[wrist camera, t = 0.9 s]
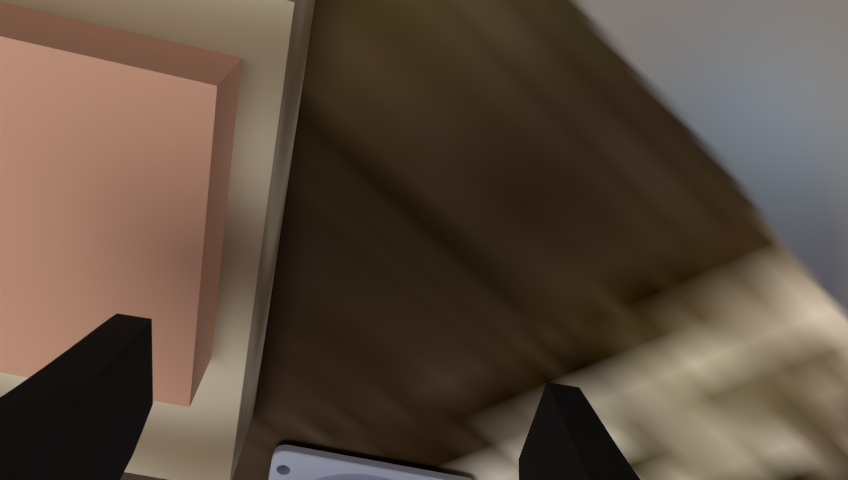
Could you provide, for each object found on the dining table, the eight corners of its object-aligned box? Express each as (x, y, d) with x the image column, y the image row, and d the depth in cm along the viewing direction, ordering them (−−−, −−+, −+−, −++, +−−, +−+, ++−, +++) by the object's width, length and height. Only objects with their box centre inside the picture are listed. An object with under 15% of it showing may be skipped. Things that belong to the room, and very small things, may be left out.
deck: (253, 414, 26) (228, 490, 23) (-53, 357, 25) (-120, 429, 22) (319, -26, 18) (294, 2, 15) (-124, -136, 17) (-245, -129, 14)
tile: (211, 358, 20) (189, 407, 19) (-3, 317, 20) (-45, 363, 18) (242, 58, 16) (217, 85, 14) (-32, -6, 15) (-93, 14, 14)
